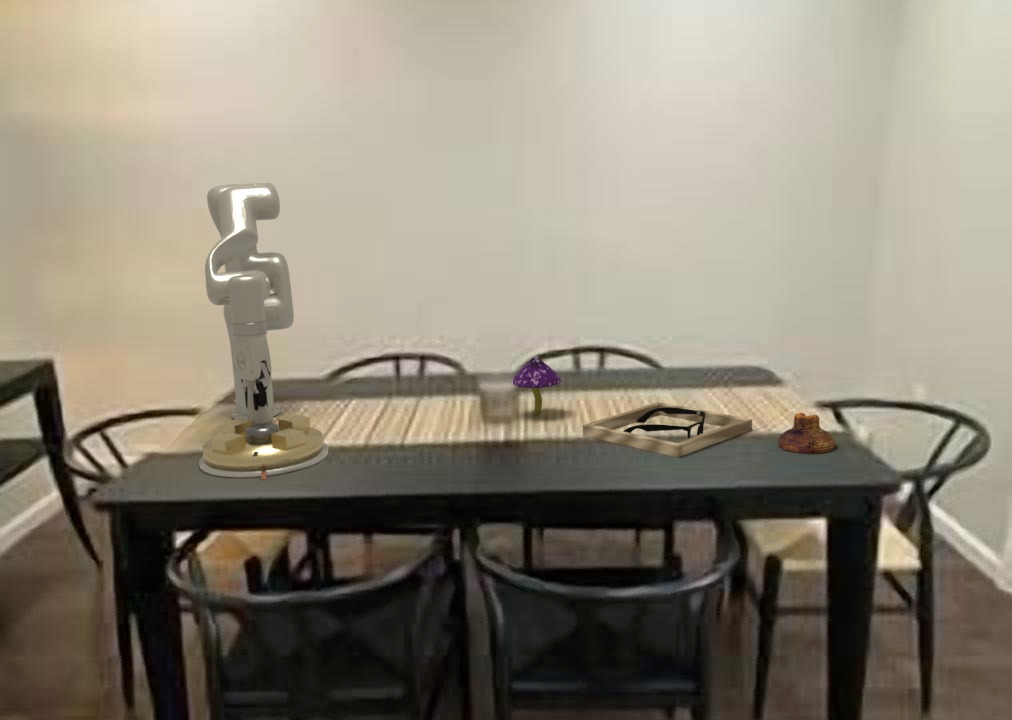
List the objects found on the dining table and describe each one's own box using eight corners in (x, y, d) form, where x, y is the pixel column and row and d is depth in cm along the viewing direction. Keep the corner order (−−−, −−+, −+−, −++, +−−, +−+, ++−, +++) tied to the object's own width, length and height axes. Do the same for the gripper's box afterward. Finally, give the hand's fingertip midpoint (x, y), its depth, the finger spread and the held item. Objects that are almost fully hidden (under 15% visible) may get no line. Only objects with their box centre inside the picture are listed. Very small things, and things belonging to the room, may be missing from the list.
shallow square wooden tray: (582, 435, 231) (582, 425, 231) (658, 411, 249) (657, 402, 248) (678, 457, 211) (677, 446, 211) (752, 429, 229) (752, 419, 229)
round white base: (177, 461, 226) (177, 456, 225) (287, 434, 244) (286, 429, 244) (238, 486, 205) (237, 481, 205) (352, 455, 224) (352, 450, 223)
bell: (766, 444, 219) (767, 411, 217) (812, 436, 223) (813, 404, 221) (800, 458, 208) (800, 424, 206) (847, 450, 212) (848, 416, 210)
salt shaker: (270, 432, 230) (260, 377, 226) (246, 434, 230) (235, 379, 227) (278, 424, 235) (268, 370, 232) (254, 425, 236) (244, 372, 233)
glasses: (692, 450, 220) (693, 428, 218) (615, 440, 227) (615, 419, 226) (710, 431, 234) (711, 410, 233) (637, 422, 242) (638, 402, 240)
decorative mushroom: (502, 416, 252) (500, 357, 249) (540, 406, 260) (537, 349, 257) (535, 424, 242) (533, 363, 239) (573, 414, 250) (571, 355, 247)
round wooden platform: (252, 478, 206) (249, 450, 205) (179, 459, 223) (176, 433, 222) (347, 447, 226) (345, 421, 225) (274, 431, 242) (271, 407, 241)
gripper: (217, 328, 231) (225, 406, 235) (252, 335, 220) (260, 416, 223) (246, 324, 236) (253, 400, 240) (282, 330, 225) (290, 410, 228)
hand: (257, 407), depth 231 cm, fingers closed on salt shaker, 3 cm apart
